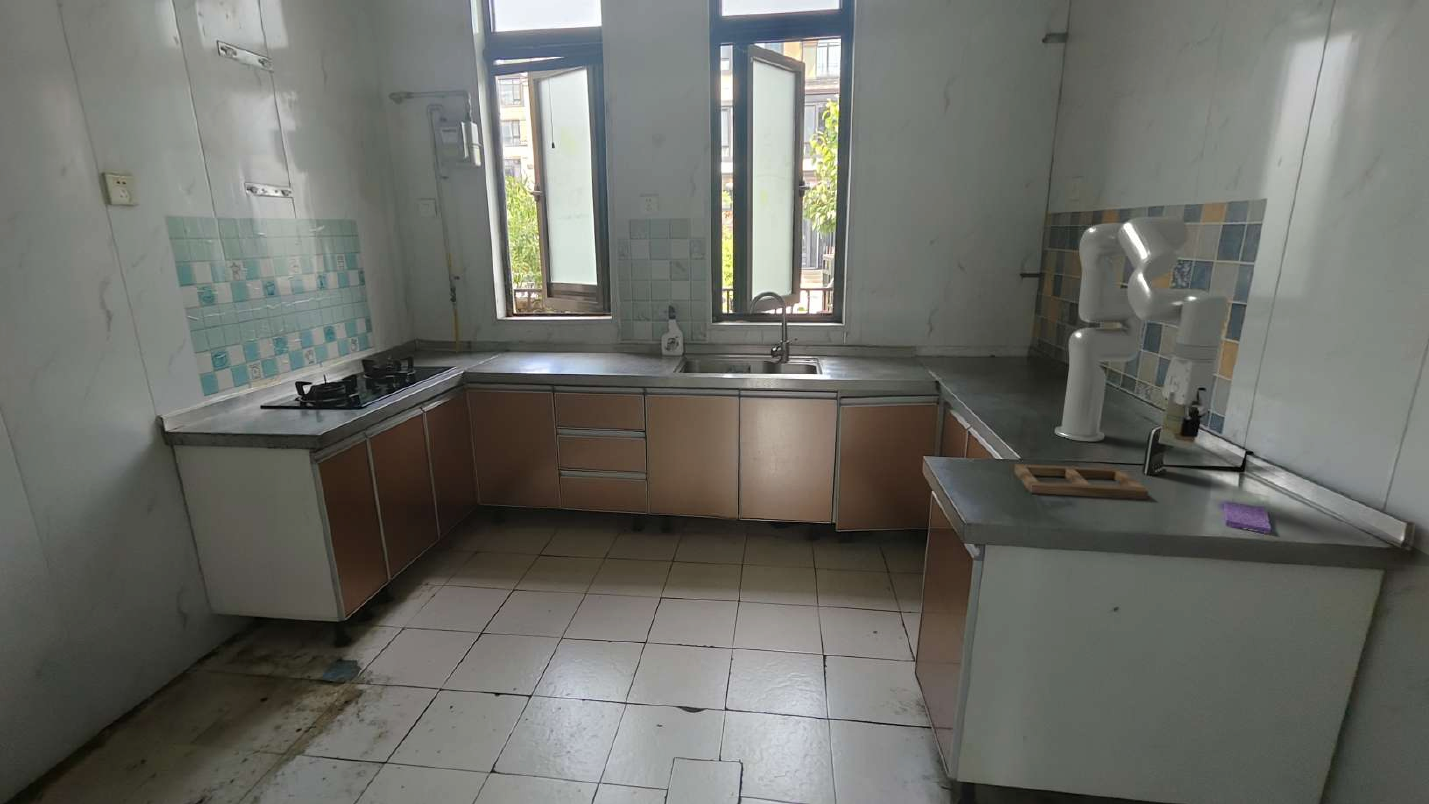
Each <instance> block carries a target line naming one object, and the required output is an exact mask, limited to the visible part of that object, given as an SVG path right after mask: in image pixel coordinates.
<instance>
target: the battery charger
mask: <svg viewBox="0 0 1429 804" xmlns="http://www.w3.org/2000/svg"><path fill="white" fill-rule="evenodd" d="M1161 429H1162V425H1161V426H1156V427H1154V428H1151V429H1150V430H1149V433H1148V436H1147V441H1146V446H1145V453H1144V460H1143V465H1142V474H1144V475H1150V476H1160V475H1161V474H1164V473H1165V472H1167V467H1166V466H1165V463H1164V455H1165V453H1167V452H1169V451H1171V450H1173V449H1174V447H1175V446H1172V445H1167V444H1161V443H1159V438H1160V433H1161Z"/></svg>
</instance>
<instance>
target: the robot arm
mask: <svg viewBox="0 0 1429 804" xmlns="http://www.w3.org/2000/svg"><path fill="white" fill-rule="evenodd" d="M1188 239H1189V228H1188V225H1187V224H1186V222H1185V221H1184V220H1183V219H1182V218H1179V217H1177V216H1139V217H1133V218H1131V219H1129V220H1127V221H1126V222H1124V223H1123V222H1119V223H1117V222H1112V223H1110V222H1109V223H1100V224H1095V225H1092V226H1090V227H1088V228H1087V229H1086V230H1085V231H1084V232H1083V234H1082V236H1081V238H1080V242H1079V247H1078V249H1079V251H1078V252H1079V259H1080V265H1081V280H1080V290H1079V291H1080V292H1079V298H1078V299H1079V300H1078V301H1079V302H1078V315H1079V319H1080V320H1081V321H1083V322H1086V323H1092V324H1093V323H1094V324H1116V327H1085V328H1079V329H1077V330H1075V331H1074V332H1072V334H1071V335H1070V337H1069V339H1068V358H1069V359H1068V360H1069V361H1068V363H1069V364H1068V365H1069V366H1068V375H1067V383H1066V391H1065V398H1064V405H1063V414H1062V421H1061V426H1056V427H1055V429H1054V433H1055V434H1056V435H1057V436H1059V437H1061V438H1064V437H1065V438H1064V439H1067V438H1068V440H1071V441H1072V440H1073V441H1077V442H1099V441H1102V440H1104V439H1105V433H1104V432H1103V431H1100V426H1101V420H1102V419H1101V418H1102V412H1103V406H1104V399H1105V391H1106V384H1107V376H1106V373H1105V371H1104V369H1103V367H1101V364H1100V363H1106V362H1107V363H1108V362H1109V363H1111V362H1112V363H1113V362H1116V363H1120V362H1121V363H1123V362H1124V363H1125V362H1130V361H1133V360H1134V359H1135V358H1136V357H1137V356H1138V354H1139V352H1140V349H1141V343H1142V336H1143V328H1144V322H1145V323H1149V324H1178V327H1177V331H1176V332H1177V333H1176V338H1175V342H1174V347H1173V348H1174V349H1173V353H1172V357H1171V359H1170V362H1169V364H1168V367H1167V370H1166V375H1165V378H1164V383H1163V386H1162V390H1161V391H1162V392H1161V394H1162V396H1163V397H1164V399H1165V401H1166V402H1165V404H1164V407H1165V410H1164V412H1165V411H1166V407H1167V402H1168V398H1169V394H1170V391H1173V392H1175V393H1174V398H1173V402H1174V403H1176V404H1178V405H1180V406H1185V415H1186V418H1183V421H1182V426H1181V431H1180V435H1181V436H1182V437H1196V438H1197V437H1198V435H1199V430H1200V425H1201V421H1203V419H1204V416H1205V415H1206V413H1207V412H1209V410H1210V408H1211V405H1210V403H1209V401H1210V397H1211V392H1212V387H1213V379H1214V369H1215V362H1216V361H1217V357H1218V352H1219V349H1220V343H1221V339H1222V334H1223V330H1224V329H1223V328H1224V325H1225V319H1226V315H1227V311H1228V305H1229V300H1228V298H1227V297H1226V296H1225V295H1222V294H1218V293H1217V294H1216V293H1209V292H1208V291H1206V290H1204V289H1195V288H1194V289H1191V288H1190V289H1189V288H1188V289H1187V288H1185V289H1184V288H1183V289H1182V288H1164V289H1163V288H1159V289H1158V288H1154V287H1153V286H1152V284H1151V282H1154V281H1156V280H1158V279H1162V278H1163V277H1165V276H1167V275H1168V274H1169V273H1170V272H1172V270H1173V269H1174V268H1175V267H1176V266H1177V263H1178V254H1177V253H1176V252H1178V251H1179V250H1181V249H1182V248H1183V247H1184V246H1185V245H1186V243H1187V242H1188ZM1110 257H1127V259H1128V260H1129V262H1130V264H1131V265H1132V266H1131V267H1132V268H1133V269H1134V271H1133V272H1132V273H1131V275H1130V277H1129V280H1128V283H1127V288H1118V287H1117V284H1118V275H1119V274H1118V268H1117V266H1116V265H1115V263H1114V262H1113V260H1112V259H1111V258H1110ZM1196 402H1198V405H1190V404H1191V403H1196ZM1191 408H1197V409H1195V410H1194V411H1193V412H1192V413H1191ZM1163 414H1164V415H1165V413H1163ZM1164 415H1163V416H1164ZM1163 420H1164V418H1163V419H1162V421H1163Z"/></svg>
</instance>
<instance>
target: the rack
mask: <svg viewBox="0 0 1429 804" xmlns="http://www.w3.org/2000/svg"><path fill="white" fill-rule="evenodd" d="M1013 472H1014V474H1015V475H1016V476H1017V477H1018V479H1019V480H1020V481H1021V482H1022V484H1023V485H1024V486H1025V488H1026V489H1027V490H1028V491H1029V493H1030V494H1044V495H1060V496H1061V495H1063V496H1064V495H1065V496H1081V497H1098V498H1099V497H1102V498H1113V499H1114V498H1117V499H1133V500H1136V499H1137V500H1147V499H1148V494H1149V490H1148V489H1147V488H1145V487H1144V486H1142V485H1141V484H1140V483H1139V482H1138V481H1136V480H1135V478H1133V477H1131V476H1130V475H1128V474H1127V473H1126V472H1125V471H1123V469H1121V468H1112V467H1111V468H1107V467H1089V466H1087V467H1086V466H1071V465H1070V466H1068V465H1048V464H1047V465H1045V464H1027V463H1025V464H1024V463H1014V464H1013ZM1035 476H1041V477H1044V476H1045V477H1063V478H1065V479H1066V480H1067V481H1068V482H1069V483H1067V482H1066V483H1064V482H1063V483H1061V482H1045V481H1038V480H1037V479H1036V477H1035ZM1086 479H1103V480H1114V481H1115V482H1116V483H1117V484H1119V485H1104V484H1103V485H1102V484H1090V483H1089V482H1088V481H1087V480H1086Z"/></svg>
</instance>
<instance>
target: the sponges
mask: <svg viewBox="0 0 1429 804" xmlns="http://www.w3.org/2000/svg"><path fill="white" fill-rule="evenodd" d="M1222 507H1223V518H1224V519H1223V524H1224V523H1225V525H1228V526H1227V527H1229V526H1232V527H1231V528H1234V527H1238V528H1237V529H1239V528H1247V529H1253V530H1258V531H1262V532H1266V533H1269V534H1271V533H1270V531H1271V530H1272V527H1271V524H1270V521H1269V520H1270V519H1269V516H1268V512H1267V507H1263V506H1258V505H1257V506H1255V505H1251V504H1242V503H1237V502H1232V501H1229V500H1228V501H1226V500H1223V504H1222ZM1224 521H1225V522H1224ZM1225 525H1224V526H1225Z"/></svg>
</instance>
